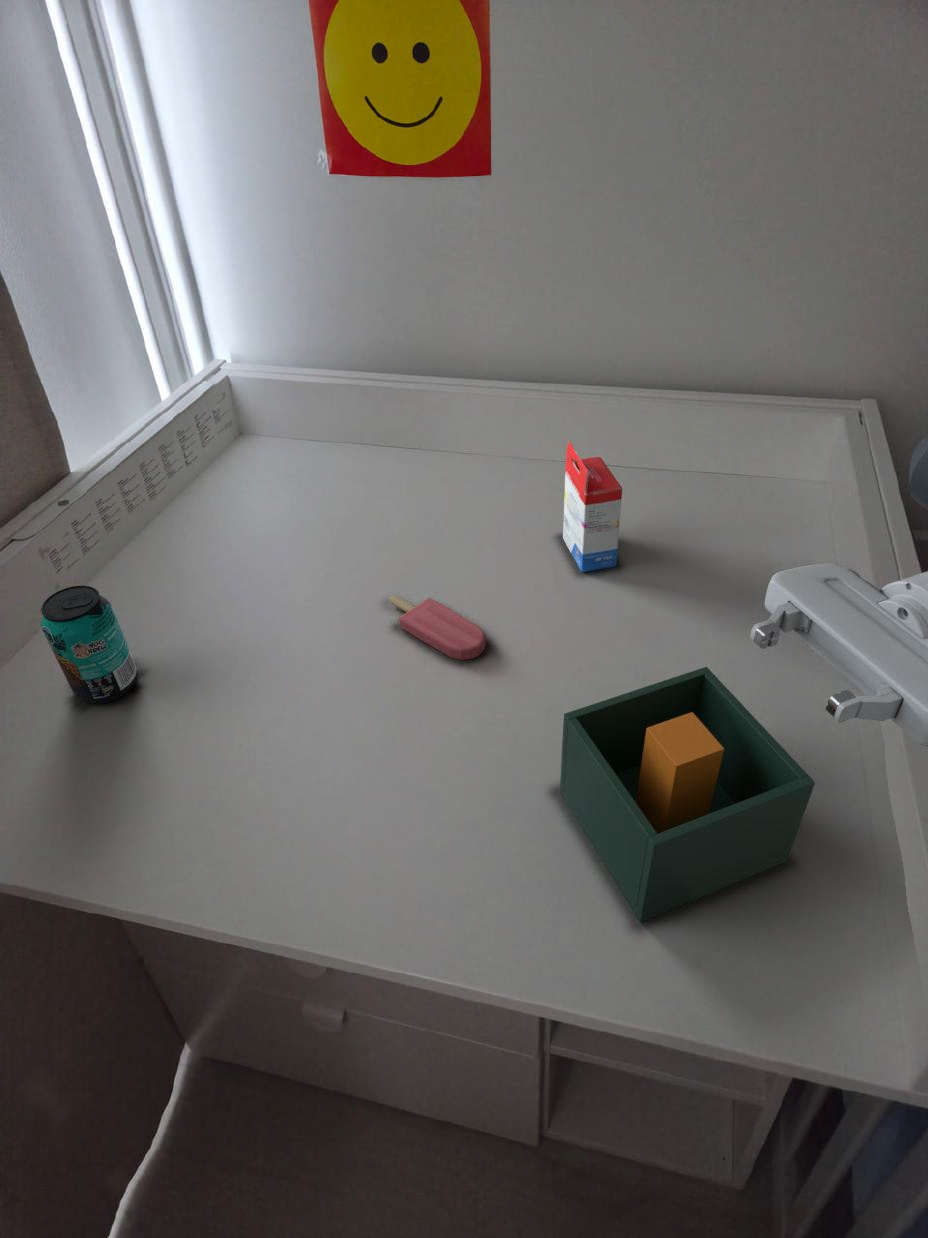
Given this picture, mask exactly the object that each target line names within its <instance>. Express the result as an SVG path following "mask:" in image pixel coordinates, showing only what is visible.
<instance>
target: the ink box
mask: <svg viewBox="0 0 928 1238" xmlns="http://www.w3.org/2000/svg"><path fill="white" fill-rule="evenodd" d="M565 456H566V457H565V468H564V469H565V473H564V499H563V524H562V525H563V527H562V528H563V529H562V540H563V541H564V543H565V545H566V547H567V548H568V550H569V552H570V554H571V555H572V557H573V559H574V561H575V562H576V565H577V567H578V568H579V570H580V572H581V573H587V572H592V571H598V570H604V569H609V568H615V567H616V566H617V560H618V547H619V535H620V534H619V531H620V522H621V521H620V520H621V510H622V498H623V487H622V486H621V484H620V483H619V481H618V480H617V479H616V477H615V476H614V474H613V473H612V471H611V470H610V469H609V467H608V466H607V464H606V462H605V461H604V460H603V459H602V457H601V456H594V457H592V456H591V457H585V458H584V457H583V458H581V456H580V455H579V454H578V452H577V450H576V449H575V447H574V446H573V445H572V443H571V441H568V442H567V444H566V455H565Z"/></svg>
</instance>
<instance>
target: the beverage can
mask: <svg viewBox="0 0 928 1238" xmlns="http://www.w3.org/2000/svg"><path fill="white" fill-rule="evenodd" d="M40 613H41V615H42V617H41V621H40V626H41V627H40V628H41V630H42V632H43V634H44V636H45V639H46V640H47V642H48V645H49V646H50V648H51V650H52V651H51V652H52V653H53V655H54V657H55V659H56V661H57V664H58V665H59V667H60V669H61V671H62V673H63V675H64V677H65V679H66V682H67V683H68V685H69V687H70V689H71V692H72V693H73V695H74V696H75V698H77V699H78V700H80V701H82V702H85V703H89V704H105V703H109V702H113V701H116V700H117V699H119V698H122V697H123V696H124V695H126V694H127V693H128V692H129V691H130V690H131V689H132V687H133V686H134V685H135V683H136V682H137V679H138V675H139V670H138V667H137V664H136V662H135V659H134V657H133V655H132V652H131V650H130V647H129V645H128V642H127V640H126V637H125V635H124V633H123V630H122V628H121V626H120V623H119V621H118V618H117V615H116V613H115V611H114V608H113V606H112V603H111V602H110V601H109V600H108V599H107V598H105V597H104V596H103V595H101V594H100V592H99V590H98V589H96V588H95V587H93V586H90V585H73V586H69V587H65V588H62V589H60V590H58V591H56V592H54V593H52V594H51V595H50V596H48V597H47V598H46V599H45V600H44V602H43V603H42V605H41V608H40Z"/></svg>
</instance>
